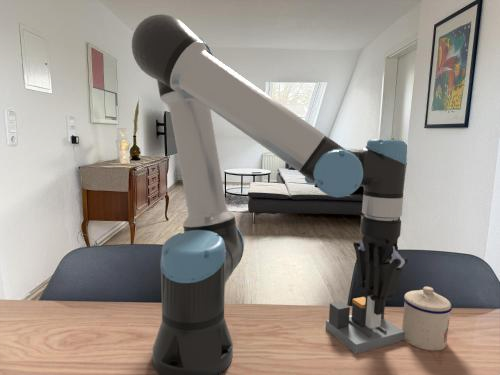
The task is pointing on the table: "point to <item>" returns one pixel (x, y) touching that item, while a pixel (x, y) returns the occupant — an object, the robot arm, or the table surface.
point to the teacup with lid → (426, 319)
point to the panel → (360, 330)
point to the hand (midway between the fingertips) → (372, 325)
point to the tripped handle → (359, 311)
